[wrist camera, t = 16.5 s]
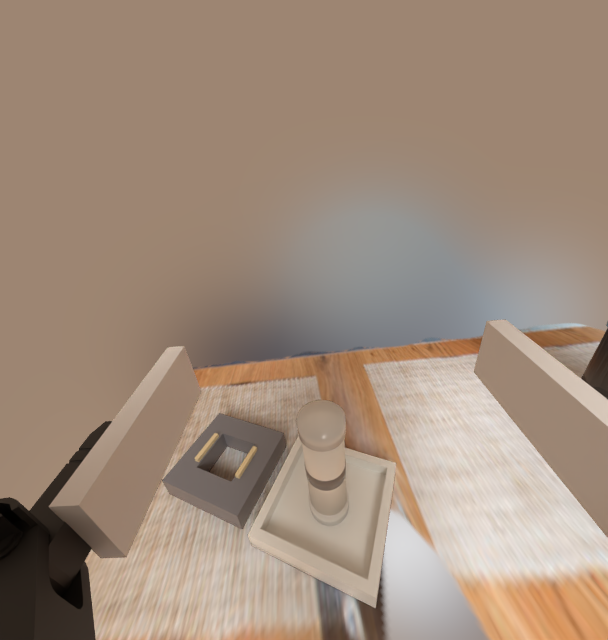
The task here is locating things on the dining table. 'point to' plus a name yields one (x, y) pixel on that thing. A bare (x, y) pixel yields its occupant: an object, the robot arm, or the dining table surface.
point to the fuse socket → (249, 481)
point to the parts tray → (330, 541)
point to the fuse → (324, 459)
